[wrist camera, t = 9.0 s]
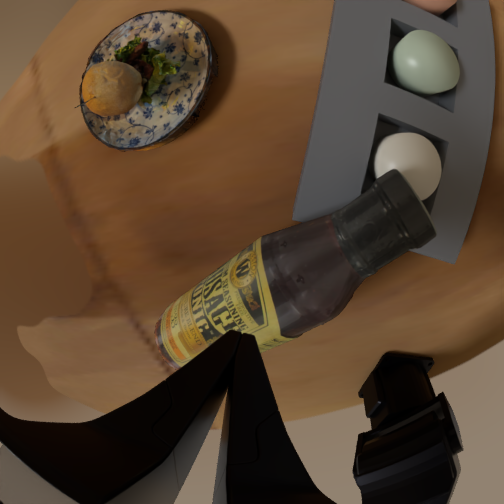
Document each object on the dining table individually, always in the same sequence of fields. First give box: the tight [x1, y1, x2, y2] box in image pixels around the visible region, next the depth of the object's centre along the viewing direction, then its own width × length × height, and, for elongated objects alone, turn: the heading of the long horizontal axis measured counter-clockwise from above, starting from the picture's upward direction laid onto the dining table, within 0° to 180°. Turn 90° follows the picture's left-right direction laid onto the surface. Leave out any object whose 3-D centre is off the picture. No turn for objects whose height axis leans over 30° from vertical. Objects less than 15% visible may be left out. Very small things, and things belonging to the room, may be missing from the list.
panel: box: [292, 0, 495, 264], centre depth 12 cm, size 12×24×3 cm, turn 170°
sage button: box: [387, 30, 460, 97], centre depth 11 cm, size 4×4×3 cm
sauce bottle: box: [154, 169, 437, 370], centre depth 17 cm, size 6×6×20 cm
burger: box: [75, 10, 218, 152], centre depth 14 cm, size 12×12×8 cm
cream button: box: [368, 133, 441, 201], centre depth 14 cm, size 4×4×3 cm
